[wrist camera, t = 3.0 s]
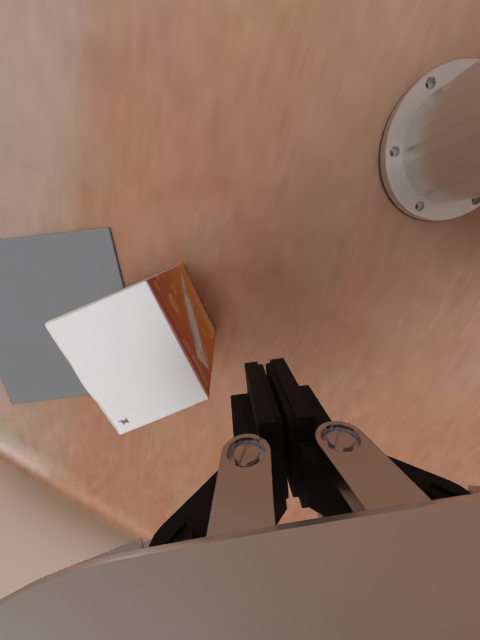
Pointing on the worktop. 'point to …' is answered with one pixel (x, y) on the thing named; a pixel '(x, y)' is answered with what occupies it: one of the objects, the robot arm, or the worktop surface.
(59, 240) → the mat
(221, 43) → the worktop surface
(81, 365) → the small box
